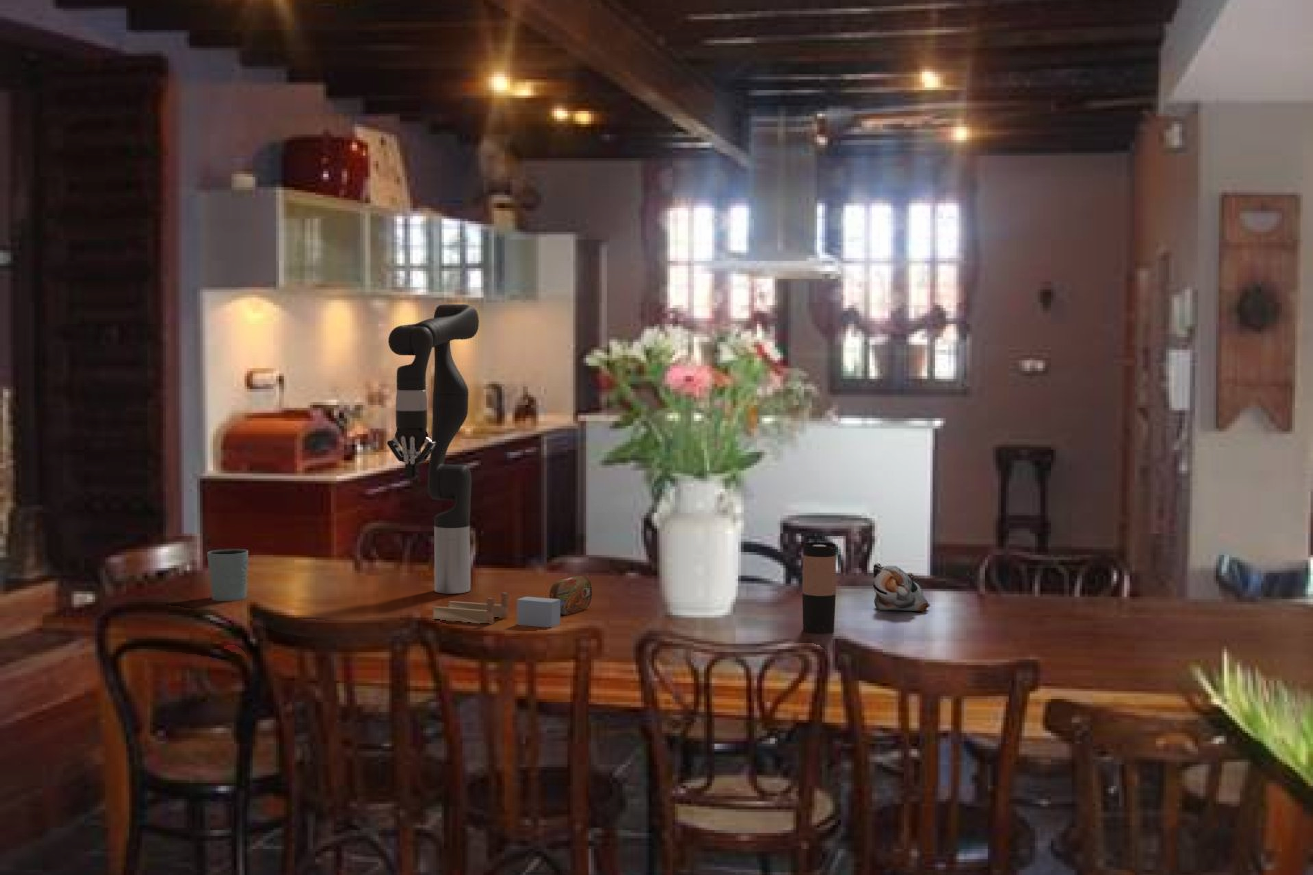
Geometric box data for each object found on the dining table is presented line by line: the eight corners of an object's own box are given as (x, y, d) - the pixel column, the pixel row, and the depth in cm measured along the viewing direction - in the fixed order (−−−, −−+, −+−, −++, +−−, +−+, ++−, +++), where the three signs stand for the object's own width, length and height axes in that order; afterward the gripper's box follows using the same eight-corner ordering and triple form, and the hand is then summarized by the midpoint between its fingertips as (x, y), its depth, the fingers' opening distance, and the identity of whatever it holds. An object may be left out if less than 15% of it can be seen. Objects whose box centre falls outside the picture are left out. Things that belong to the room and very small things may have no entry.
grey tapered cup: (237, 602, 384) (236, 554, 383) (200, 600, 386) (199, 553, 385) (255, 595, 394) (255, 549, 393) (219, 593, 396) (218, 547, 395)
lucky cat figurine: (939, 611, 377) (929, 566, 370) (897, 633, 374) (887, 587, 367) (906, 585, 389) (896, 540, 383) (866, 605, 387) (855, 561, 380)
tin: (557, 617, 367) (557, 582, 367) (546, 616, 369) (546, 581, 368) (593, 607, 380) (593, 574, 379) (582, 606, 382) (582, 573, 381)
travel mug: (799, 627, 357) (800, 541, 355) (831, 626, 357) (832, 541, 356) (805, 633, 349) (806, 546, 348) (838, 633, 350) (839, 546, 348)
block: (525, 621, 362) (525, 596, 362) (560, 624, 359) (560, 599, 358) (517, 624, 358) (517, 599, 358) (551, 628, 355) (551, 602, 354)
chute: (451, 613, 371) (451, 588, 371) (508, 617, 366) (508, 592, 366) (433, 619, 363) (433, 594, 363) (491, 624, 358) (491, 598, 357)
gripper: (442, 408, 375) (443, 478, 377) (395, 407, 380) (395, 476, 381) (428, 410, 368) (428, 481, 370) (379, 408, 373) (380, 479, 374)
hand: (411, 479), depth 375 cm, fingers closed
